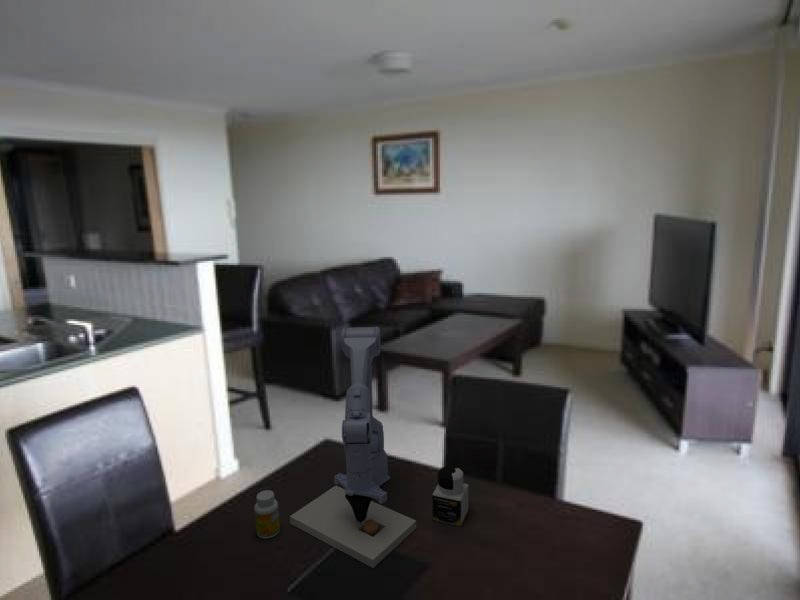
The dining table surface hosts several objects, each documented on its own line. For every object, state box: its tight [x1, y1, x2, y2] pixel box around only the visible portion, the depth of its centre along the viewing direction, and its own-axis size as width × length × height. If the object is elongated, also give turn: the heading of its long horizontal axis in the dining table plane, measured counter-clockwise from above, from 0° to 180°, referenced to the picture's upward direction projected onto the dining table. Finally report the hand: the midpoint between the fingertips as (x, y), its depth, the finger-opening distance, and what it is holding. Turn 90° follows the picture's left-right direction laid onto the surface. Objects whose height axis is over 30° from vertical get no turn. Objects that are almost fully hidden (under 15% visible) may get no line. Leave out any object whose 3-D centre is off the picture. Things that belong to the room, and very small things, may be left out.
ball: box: [363, 519, 379, 537], centre depth 120 cm, size 4×4×4 cm
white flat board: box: [289, 485, 417, 569], centre depth 123 cm, size 26×16×2 cm, turn 53°
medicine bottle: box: [432, 465, 469, 527], centre depth 125 cm, size 7×7×12 cm
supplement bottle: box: [253, 489, 281, 539], centre depth 121 cm, size 5×5×10 cm
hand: (361, 519), depth 121 cm, fingers closed
